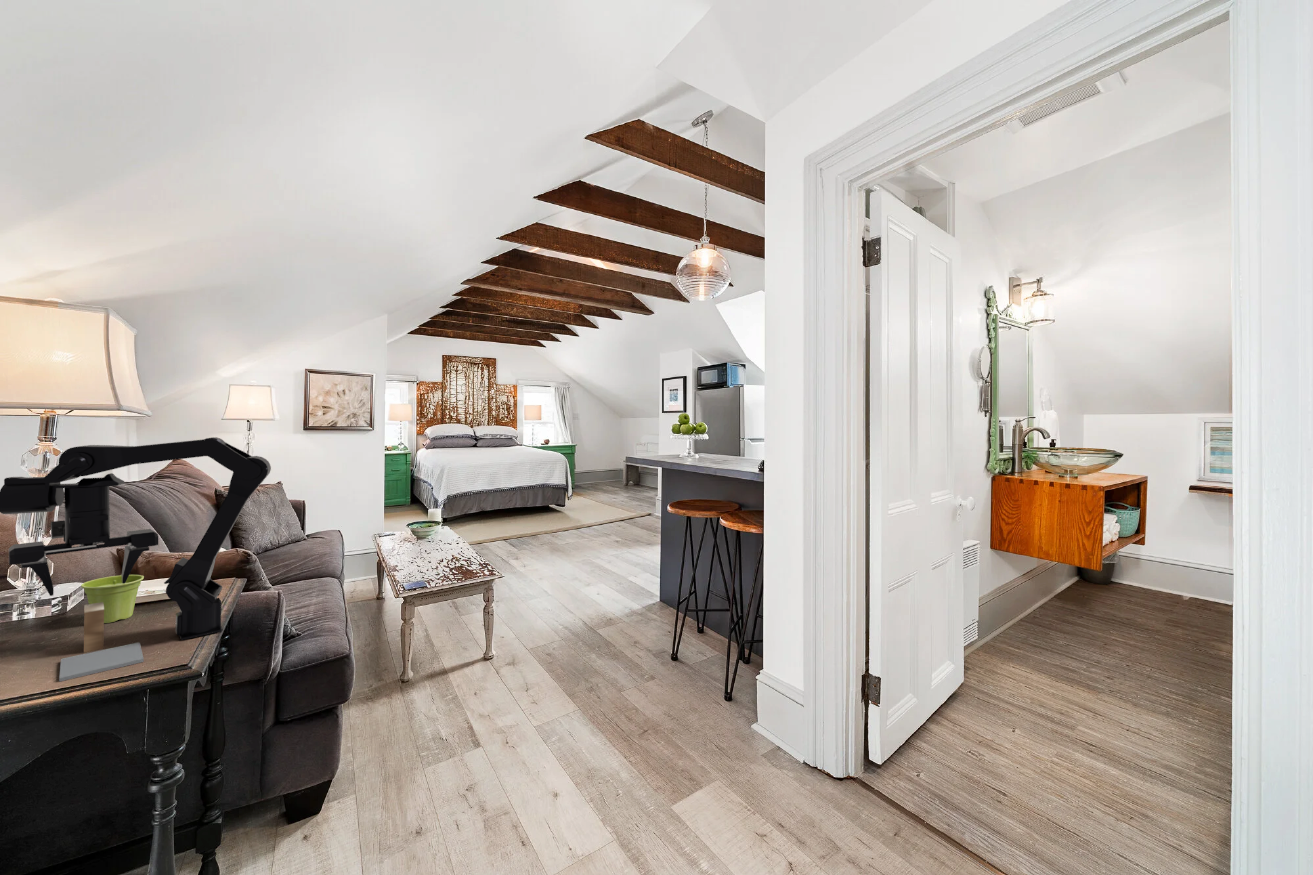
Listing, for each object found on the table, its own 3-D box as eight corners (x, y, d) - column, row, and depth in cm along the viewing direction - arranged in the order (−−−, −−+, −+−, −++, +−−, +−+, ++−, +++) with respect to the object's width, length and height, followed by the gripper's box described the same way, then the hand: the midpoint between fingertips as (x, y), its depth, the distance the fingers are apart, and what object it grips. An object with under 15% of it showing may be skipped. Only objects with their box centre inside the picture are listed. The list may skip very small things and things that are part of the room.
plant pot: (94, 614, 112) (95, 576, 112) (150, 608, 116) (151, 572, 116) (70, 629, 104) (70, 589, 103) (131, 623, 108) (132, 584, 108)
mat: (139, 645, 98) (139, 642, 98) (143, 661, 92) (143, 658, 92) (60, 661, 90) (61, 658, 90) (59, 681, 84) (59, 678, 84)
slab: (102, 641, 99) (103, 602, 99) (103, 648, 96) (104, 608, 96) (83, 644, 97) (84, 605, 97) (83, 652, 94) (84, 611, 94)
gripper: (148, 499, 107) (149, 569, 108) (7, 511, 92) (9, 592, 93) (158, 505, 101) (159, 580, 101) (8, 518, 86) (10, 606, 86)
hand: (88, 588), depth 96 cm, fingers open, 9 cm apart
